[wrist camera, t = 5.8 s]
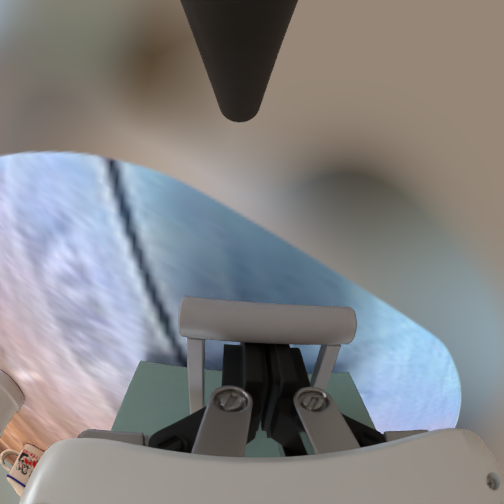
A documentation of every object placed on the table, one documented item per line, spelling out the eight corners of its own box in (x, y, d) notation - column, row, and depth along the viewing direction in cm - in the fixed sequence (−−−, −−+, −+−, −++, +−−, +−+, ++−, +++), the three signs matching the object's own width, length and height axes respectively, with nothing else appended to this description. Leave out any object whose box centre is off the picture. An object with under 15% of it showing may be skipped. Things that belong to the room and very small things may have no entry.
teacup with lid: (65, 463, 23) (45, 516, 12) (71, 478, 25) (55, 524, 14) (5, 424, 21) (-21, 469, 10) (17, 445, 23) (-3, 486, 12)
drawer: (129, 248, 13) (46, 322, 6) (381, 270, 14) (465, 343, 7) (164, 463, 19) (154, 522, 12) (300, 469, 20) (311, 527, 13)
